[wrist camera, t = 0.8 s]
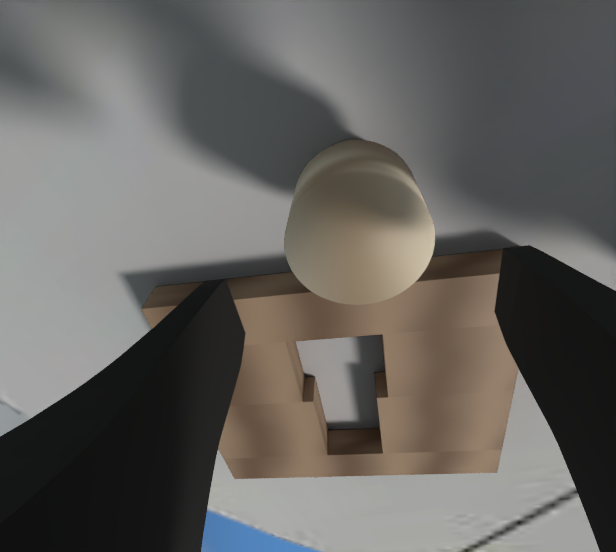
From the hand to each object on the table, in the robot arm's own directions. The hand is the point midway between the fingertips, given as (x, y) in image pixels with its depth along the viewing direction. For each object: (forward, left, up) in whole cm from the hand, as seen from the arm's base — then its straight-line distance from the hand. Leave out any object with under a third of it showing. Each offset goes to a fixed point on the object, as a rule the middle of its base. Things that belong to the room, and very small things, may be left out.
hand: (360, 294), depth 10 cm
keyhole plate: (+2, +14, -9) cm, 17 cm away
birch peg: (0, 0, -9) cm, 9 cm away
